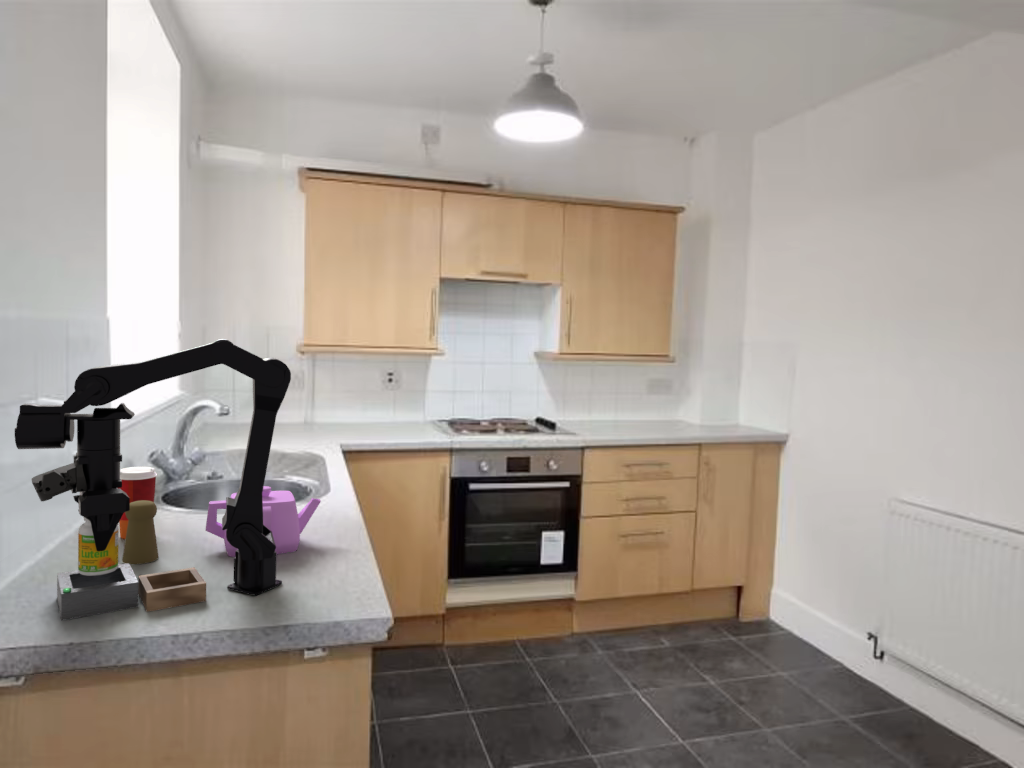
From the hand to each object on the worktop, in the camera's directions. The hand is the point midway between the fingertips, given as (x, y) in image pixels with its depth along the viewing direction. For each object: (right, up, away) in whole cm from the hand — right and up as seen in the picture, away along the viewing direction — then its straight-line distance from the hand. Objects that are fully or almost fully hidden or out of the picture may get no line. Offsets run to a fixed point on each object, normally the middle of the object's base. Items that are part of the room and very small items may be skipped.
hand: (98, 545), depth 105 cm
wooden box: (+9, -9, +4) cm, 14 cm away
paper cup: (-14, -6, +34) cm, 37 cm away
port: (-1, -9, +1) cm, 9 cm away
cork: (-5, -8, +21) cm, 23 cm away
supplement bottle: (0, -4, 0) cm, 4 cm away
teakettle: (+14, -8, +32) cm, 36 cm away
